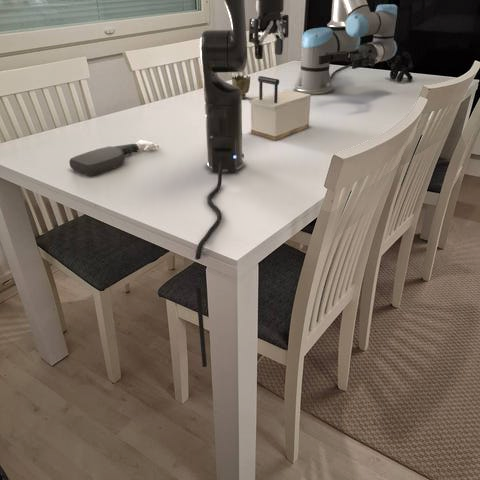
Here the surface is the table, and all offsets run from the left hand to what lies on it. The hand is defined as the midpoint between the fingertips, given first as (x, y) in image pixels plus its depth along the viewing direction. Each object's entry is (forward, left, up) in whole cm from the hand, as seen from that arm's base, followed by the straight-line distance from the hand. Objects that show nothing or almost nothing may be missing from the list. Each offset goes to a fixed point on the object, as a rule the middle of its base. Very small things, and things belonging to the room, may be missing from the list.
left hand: (268, 56), depth 128 cm
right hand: (+26, -23, -6) cm, 35 cm away
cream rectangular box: (+5, -4, -23) cm, 24 cm away
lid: (+4, -4, -14) cm, 15 cm away
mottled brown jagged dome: (+45, +10, -23) cm, 51 cm away
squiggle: (+74, -60, -23) cm, 98 cm away
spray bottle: (-21, +42, -23) cm, 52 cm away
